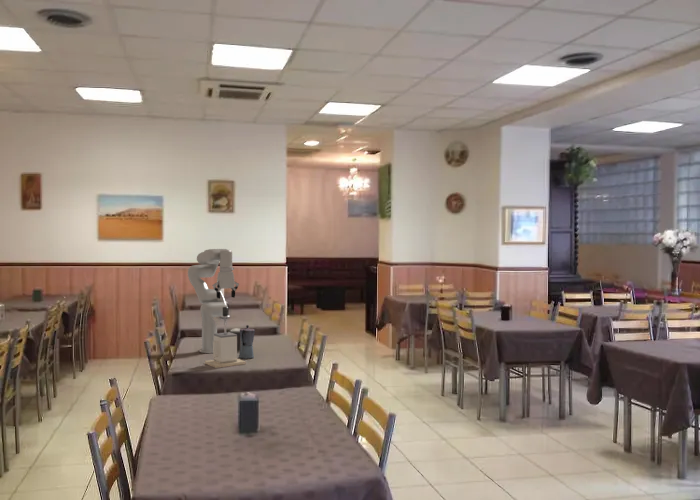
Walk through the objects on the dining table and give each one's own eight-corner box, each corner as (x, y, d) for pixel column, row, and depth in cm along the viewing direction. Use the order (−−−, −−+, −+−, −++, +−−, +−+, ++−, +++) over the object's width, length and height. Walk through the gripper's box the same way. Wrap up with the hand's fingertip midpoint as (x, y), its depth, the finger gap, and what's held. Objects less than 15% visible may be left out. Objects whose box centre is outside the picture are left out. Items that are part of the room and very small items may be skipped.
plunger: (216, 346, 385) (216, 306, 384) (228, 345, 390) (228, 306, 389) (222, 348, 379) (222, 308, 378) (234, 347, 383) (234, 307, 383)
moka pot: (257, 355, 409) (257, 323, 408) (251, 360, 394) (251, 327, 393) (242, 355, 410) (242, 323, 409) (235, 360, 394) (235, 327, 394)
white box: (204, 363, 385) (204, 333, 384) (234, 359, 396) (234, 330, 396) (215, 368, 373) (215, 337, 372) (245, 364, 384) (245, 334, 384)
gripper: (235, 269, 408) (235, 296, 409) (210, 270, 398) (210, 298, 398) (241, 269, 402) (241, 297, 403) (215, 270, 392) (215, 299, 393)
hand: (225, 297), depth 401 cm, fingers open, 9 cm apart
